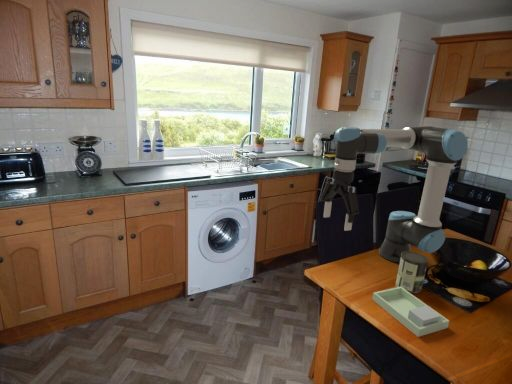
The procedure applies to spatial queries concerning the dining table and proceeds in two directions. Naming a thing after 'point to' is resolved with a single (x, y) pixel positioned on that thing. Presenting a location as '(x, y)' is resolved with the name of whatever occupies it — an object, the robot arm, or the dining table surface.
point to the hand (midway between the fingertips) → (336, 223)
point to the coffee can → (411, 271)
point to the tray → (406, 309)
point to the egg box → (423, 316)
